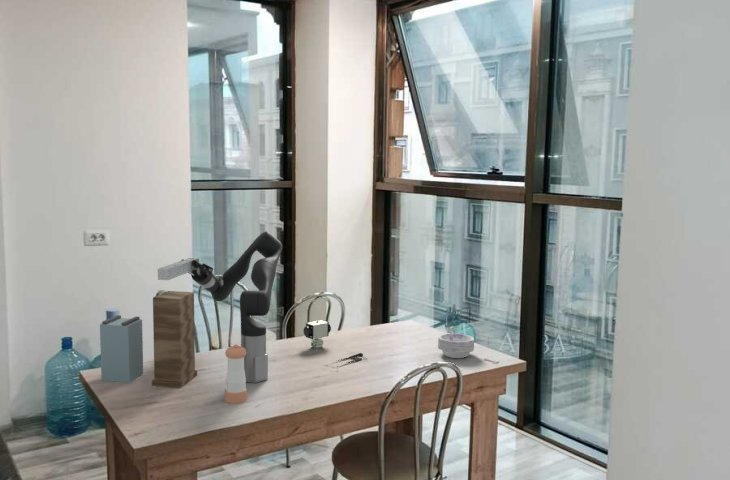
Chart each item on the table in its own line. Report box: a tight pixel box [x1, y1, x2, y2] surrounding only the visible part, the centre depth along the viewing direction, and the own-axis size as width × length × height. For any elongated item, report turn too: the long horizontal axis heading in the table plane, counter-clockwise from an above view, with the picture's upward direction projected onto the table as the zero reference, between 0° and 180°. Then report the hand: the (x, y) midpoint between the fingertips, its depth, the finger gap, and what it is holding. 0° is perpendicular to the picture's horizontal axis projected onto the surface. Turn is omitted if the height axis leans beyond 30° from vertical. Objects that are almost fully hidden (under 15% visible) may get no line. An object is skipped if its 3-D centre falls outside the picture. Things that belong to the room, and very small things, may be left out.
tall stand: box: [151, 290, 198, 389], centre depth 241 cm, size 14×11×32 cm
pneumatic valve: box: [302, 319, 332, 349], centre depth 289 cm, size 6×12×12 cm, turn 130°
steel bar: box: [157, 257, 200, 281], centre depth 252 cm, size 26×4×4 cm, turn 169°
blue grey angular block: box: [99, 314, 144, 384], centre depth 244 cm, size 10×11×22 cm
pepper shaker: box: [224, 344, 248, 404], centre depth 224 cm, size 7×7×19 cm
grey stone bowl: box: [437, 333, 475, 359], centre depth 281 cm, size 15×15×8 cm
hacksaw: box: [338, 352, 368, 364], centre depth 268 cm, size 24×10×2 cm, turn 133°
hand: (187, 261), depth 259 cm, fingers closed on steel bar, 4 cm apart
